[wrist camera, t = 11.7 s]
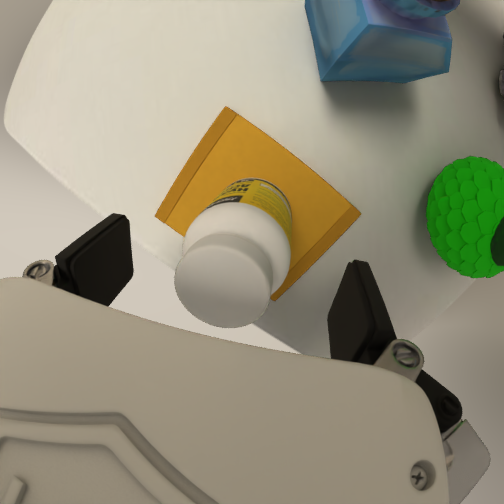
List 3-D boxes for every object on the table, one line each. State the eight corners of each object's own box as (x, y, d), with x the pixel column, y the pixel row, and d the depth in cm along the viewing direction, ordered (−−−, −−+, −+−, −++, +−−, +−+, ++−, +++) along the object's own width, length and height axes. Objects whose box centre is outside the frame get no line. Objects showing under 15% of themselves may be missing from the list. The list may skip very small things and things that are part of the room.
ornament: (449, 127, 14) (543, 147, 5) (495, 198, 16) (570, 248, 7) (388, 201, 18) (457, 271, 9) (442, 262, 19) (499, 339, 10)
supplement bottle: (255, 159, 18) (219, 197, 9) (307, 217, 19) (319, 302, 10) (201, 209, 20) (137, 281, 11) (251, 260, 21) (224, 356, 12)
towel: (157, 214, 21) (154, 216, 20) (226, 106, 16) (225, 106, 16) (275, 298, 23) (274, 301, 22) (360, 212, 19) (361, 214, 18)
